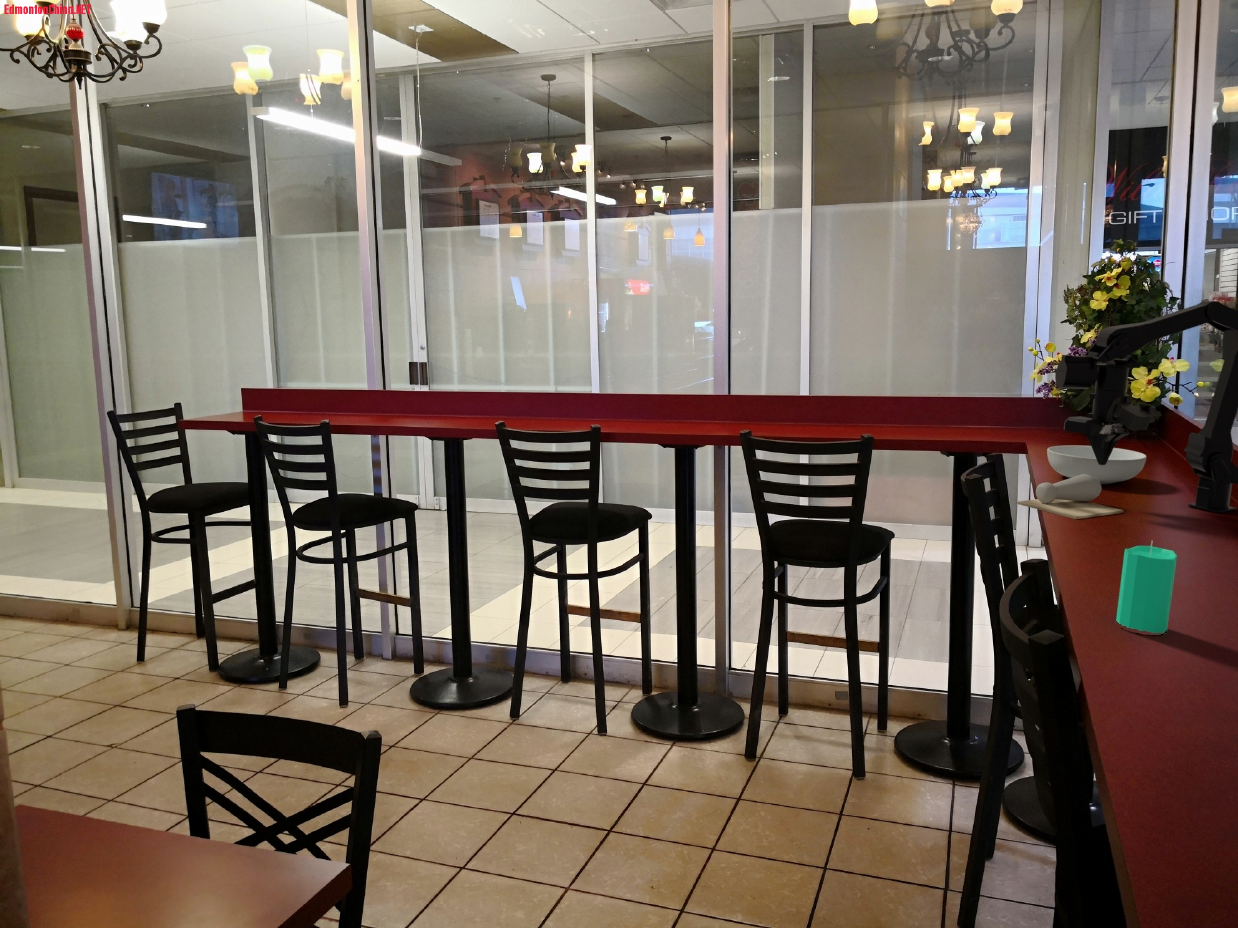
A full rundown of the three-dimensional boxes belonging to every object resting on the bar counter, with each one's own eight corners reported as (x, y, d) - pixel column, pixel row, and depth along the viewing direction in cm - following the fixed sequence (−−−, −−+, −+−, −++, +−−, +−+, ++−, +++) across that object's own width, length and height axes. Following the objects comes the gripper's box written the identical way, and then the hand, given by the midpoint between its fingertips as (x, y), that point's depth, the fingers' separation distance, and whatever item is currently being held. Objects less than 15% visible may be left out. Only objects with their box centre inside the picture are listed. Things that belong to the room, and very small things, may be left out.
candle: (1150, 620, 131) (1161, 534, 129) (1176, 636, 125) (1188, 546, 123) (1106, 619, 131) (1117, 534, 128) (1131, 635, 125) (1142, 546, 123)
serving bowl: (1121, 473, 236) (1124, 445, 234) (1159, 491, 215) (1162, 461, 214) (1032, 470, 238) (1035, 442, 236) (1062, 487, 217) (1065, 457, 216)
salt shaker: (1106, 500, 198) (1051, 508, 195) (1086, 500, 204) (1033, 507, 201) (1103, 472, 198) (1048, 479, 195) (1083, 472, 204) (1030, 479, 201)
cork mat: (1063, 498, 206) (1063, 495, 206) (1123, 512, 194) (1123, 510, 194) (1017, 503, 200) (1017, 501, 200) (1075, 519, 187) (1076, 516, 187)
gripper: (1116, 395, 185) (1107, 475, 188) (1177, 392, 193) (1167, 468, 196) (1066, 389, 194) (1058, 465, 197) (1126, 386, 203) (1118, 459, 206)
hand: (1101, 464), depth 199 cm, fingers closed
